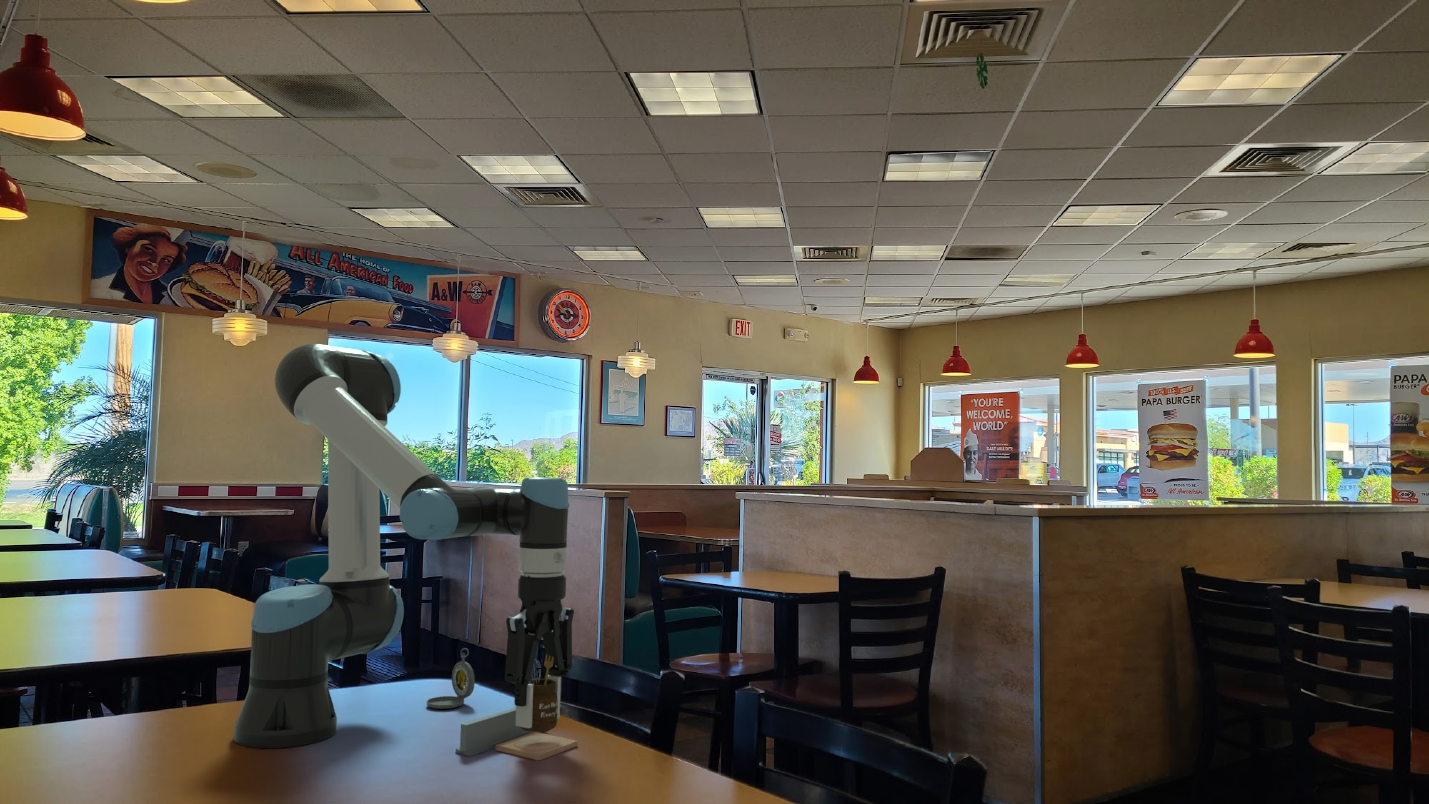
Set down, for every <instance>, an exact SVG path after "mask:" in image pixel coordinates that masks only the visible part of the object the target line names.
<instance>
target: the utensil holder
mask: <svg viewBox="0 0 1429 804" xmlns="http://www.w3.org/2000/svg"><path fill="white" fill-rule="evenodd" d="M547 658H548V655H547V654H545V658H544V664H543V666H544V667H545V668H546V671H545V675H546V676H545V675H544V678H541V672H542V671H541V670H539V672H538V673H539V677H538V678H533V676H531V678H532V679H530V682H529V684H533V709H532V727H531V728H524V727H521V729H523V730H526V731H533V732H539V733H541V732H540V731H542V732H545V731H546V732H547V731H551V730H553V729H555V728H557V724H558V719H557V713H558V698H557V694H556V693H555V692H554V691H555V690H556V683H555V681H553V680H550V679H548V675H549V674H550V673H549V668H551V667H552V666H553V662H554V657H552V660H551V656H550V655H549V658H548V661H547ZM550 660H551V661H550ZM534 662H536V665H537V667H540V665H541V664H540V661H539V660H537V659H536V658H535V660H534ZM533 671H534V672H533V673H534V675H536V673H535V670H533Z"/></svg>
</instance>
